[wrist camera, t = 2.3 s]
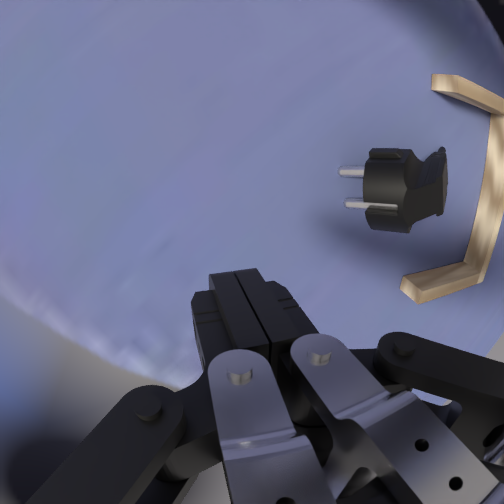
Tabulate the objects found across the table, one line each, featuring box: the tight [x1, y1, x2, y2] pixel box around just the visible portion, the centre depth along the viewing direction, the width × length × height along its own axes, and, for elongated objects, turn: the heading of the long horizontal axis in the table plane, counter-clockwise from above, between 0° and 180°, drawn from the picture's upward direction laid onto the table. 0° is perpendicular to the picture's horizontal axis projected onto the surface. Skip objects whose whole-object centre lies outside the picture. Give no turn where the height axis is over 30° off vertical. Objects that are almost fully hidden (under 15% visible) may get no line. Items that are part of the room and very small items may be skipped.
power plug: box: [337, 147, 448, 233], centre depth 22 cm, size 6×8×12 cm
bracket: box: [400, 74, 504, 304], centre depth 25 cm, size 21×12×3 cm, turn 179°
